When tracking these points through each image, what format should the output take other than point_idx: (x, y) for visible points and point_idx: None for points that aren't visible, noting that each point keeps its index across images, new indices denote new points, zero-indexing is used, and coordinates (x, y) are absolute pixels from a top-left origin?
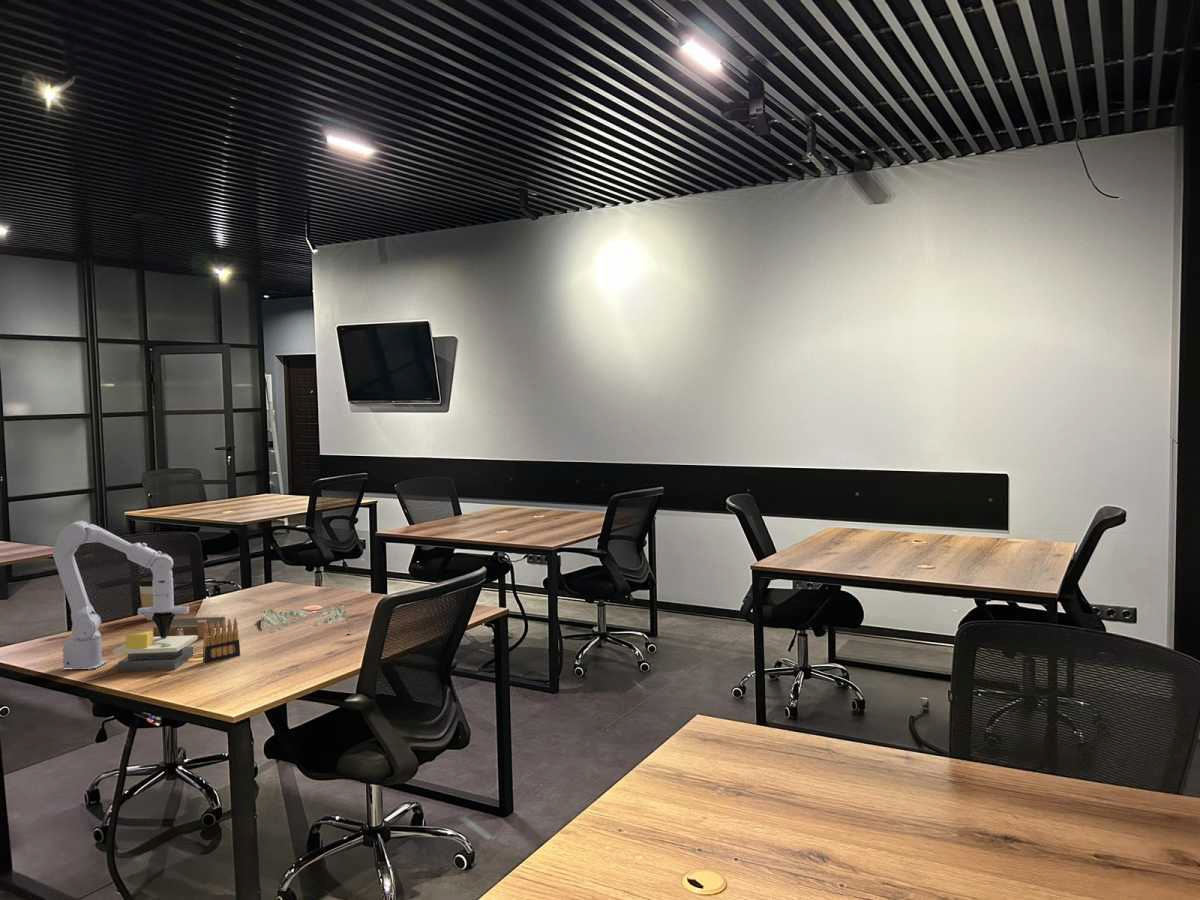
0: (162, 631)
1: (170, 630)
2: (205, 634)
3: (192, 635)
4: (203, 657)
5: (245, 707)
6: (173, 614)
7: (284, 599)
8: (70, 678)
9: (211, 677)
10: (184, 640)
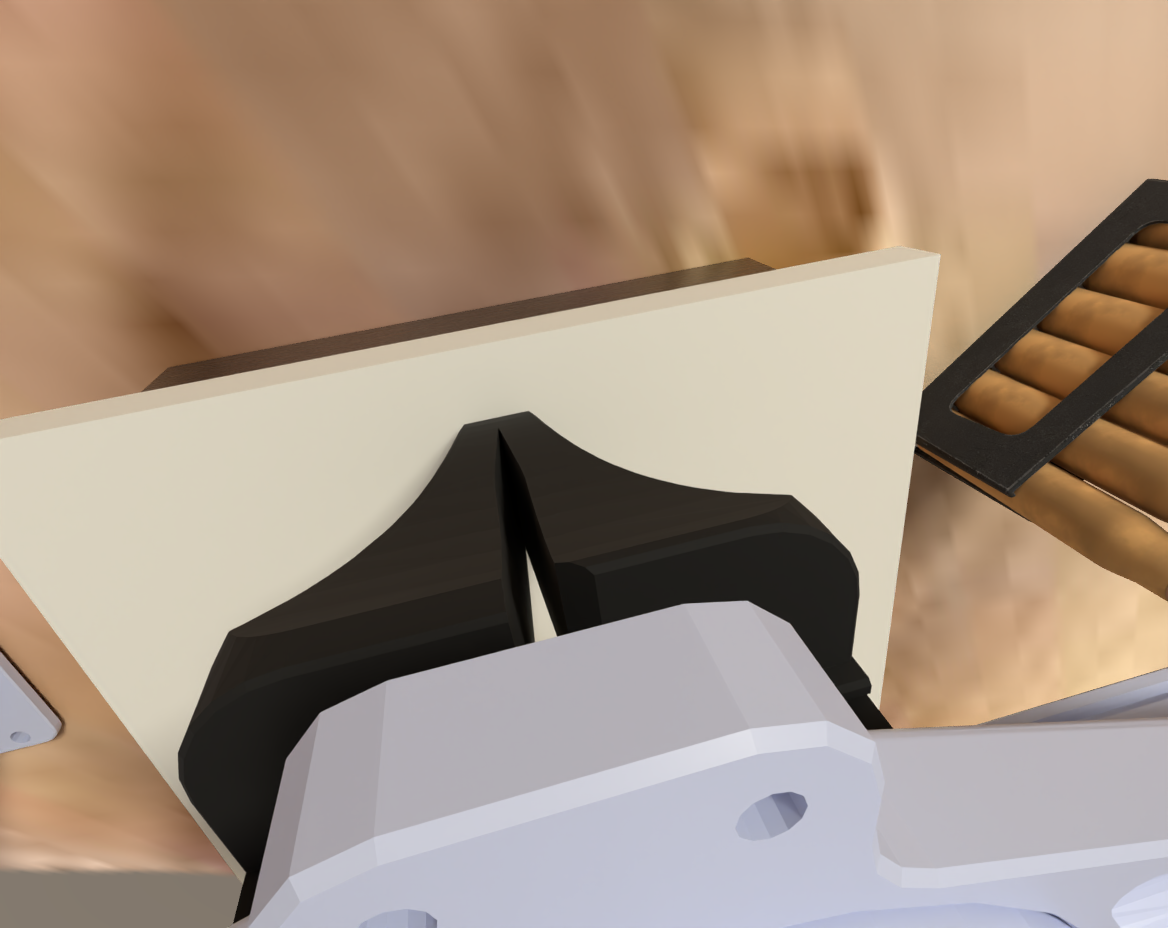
0: (527, 575)
1: None
2: (1157, 588)
3: (872, 271)
4: (920, 445)
5: None
6: (847, 687)
7: None
8: (92, 868)
9: (998, 676)
10: (853, 548)
